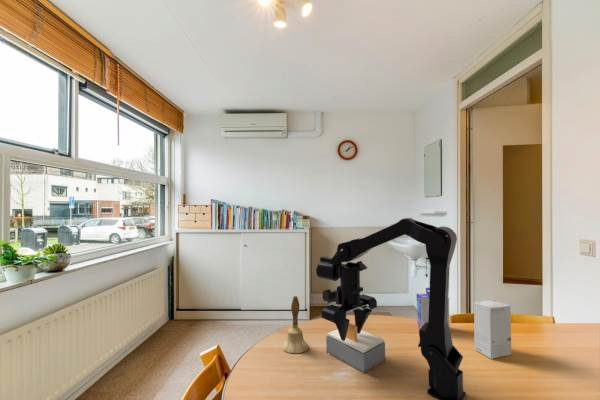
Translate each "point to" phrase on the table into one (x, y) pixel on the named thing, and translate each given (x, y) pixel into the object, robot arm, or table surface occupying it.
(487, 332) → the skincare box
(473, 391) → the table surface
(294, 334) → the hand bell
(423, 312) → the ink cartridge box
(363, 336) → the flap
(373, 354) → the carton
